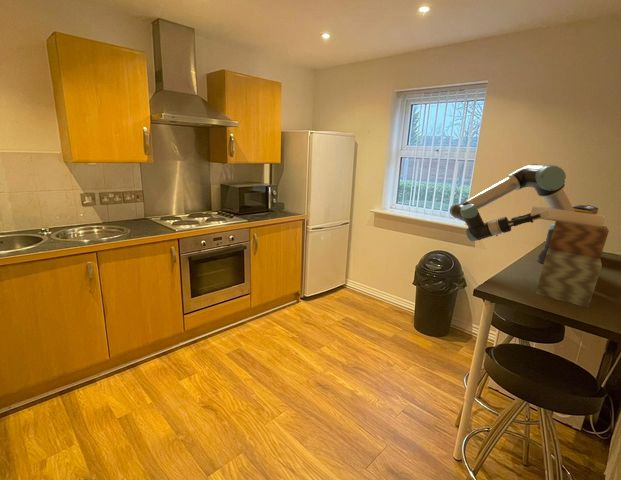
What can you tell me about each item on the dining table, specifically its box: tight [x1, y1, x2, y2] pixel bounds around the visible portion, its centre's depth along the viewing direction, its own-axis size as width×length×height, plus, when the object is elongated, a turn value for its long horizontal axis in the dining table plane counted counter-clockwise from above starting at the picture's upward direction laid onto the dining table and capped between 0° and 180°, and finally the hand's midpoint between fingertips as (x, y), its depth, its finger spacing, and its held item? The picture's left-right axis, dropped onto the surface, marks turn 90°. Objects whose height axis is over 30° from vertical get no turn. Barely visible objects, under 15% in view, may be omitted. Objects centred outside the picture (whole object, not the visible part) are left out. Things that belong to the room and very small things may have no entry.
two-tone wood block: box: [535, 221, 610, 308], centre depth 145 cm, size 18×26×30 cm
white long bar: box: [530, 205, 606, 228], centre depth 149 cm, size 26×4×5 cm, turn 52°
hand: (550, 211), depth 152 cm, fingers open, 13 cm apart
